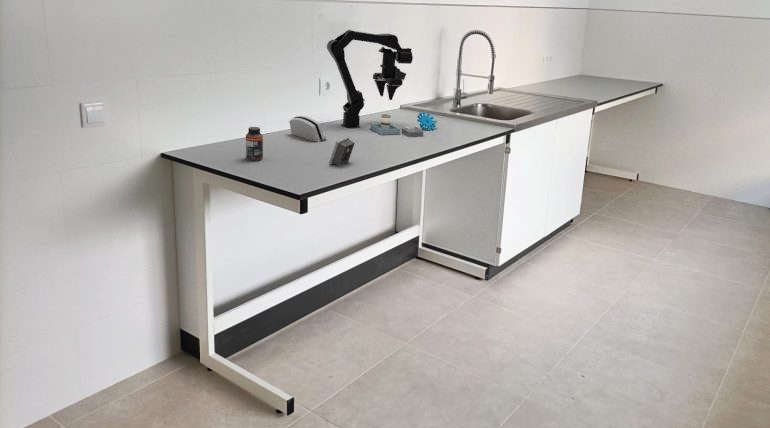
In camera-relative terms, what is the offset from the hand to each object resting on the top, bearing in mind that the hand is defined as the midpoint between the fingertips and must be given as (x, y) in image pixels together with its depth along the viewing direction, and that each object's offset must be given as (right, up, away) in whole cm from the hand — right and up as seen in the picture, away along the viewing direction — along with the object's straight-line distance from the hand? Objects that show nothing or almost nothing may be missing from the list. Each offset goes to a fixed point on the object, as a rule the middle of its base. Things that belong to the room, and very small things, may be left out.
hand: (386, 98), depth 299 cm
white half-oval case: (-33, -22, -28) cm, 48 cm away
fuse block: (+11, -18, -9) cm, 23 cm away
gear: (+19, -14, +6) cm, 24 cm away
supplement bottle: (-47, -33, -64) cm, 86 cm away
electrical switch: (-16, -34, -61) cm, 72 cm away
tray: (-1, -16, -7) cm, 18 cm away
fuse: (-1, -16, -7) cm, 17 cm away
